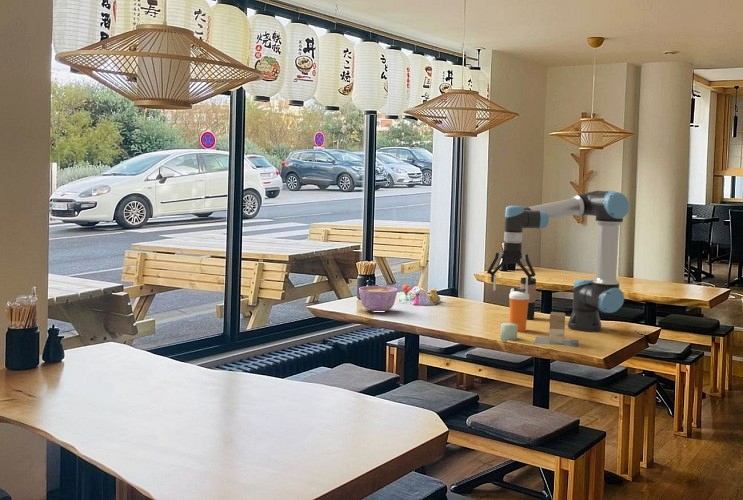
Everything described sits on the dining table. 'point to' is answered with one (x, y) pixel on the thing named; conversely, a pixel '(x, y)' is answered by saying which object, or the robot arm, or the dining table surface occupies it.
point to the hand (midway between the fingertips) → (510, 291)
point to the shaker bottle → (519, 308)
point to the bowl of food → (378, 297)
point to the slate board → (566, 343)
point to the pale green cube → (508, 331)
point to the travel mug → (530, 296)
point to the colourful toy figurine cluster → (419, 296)
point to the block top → (557, 320)
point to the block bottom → (556, 335)
